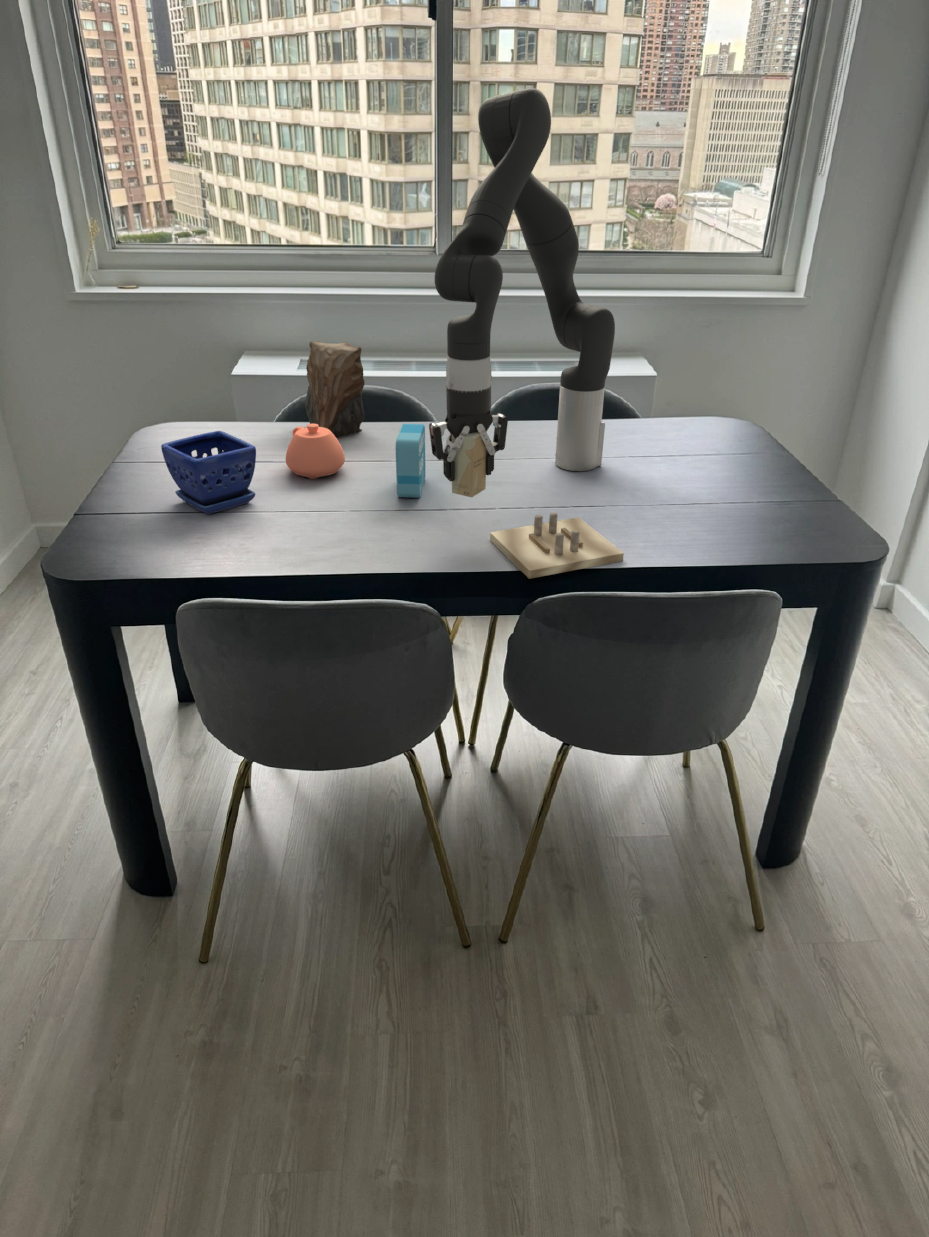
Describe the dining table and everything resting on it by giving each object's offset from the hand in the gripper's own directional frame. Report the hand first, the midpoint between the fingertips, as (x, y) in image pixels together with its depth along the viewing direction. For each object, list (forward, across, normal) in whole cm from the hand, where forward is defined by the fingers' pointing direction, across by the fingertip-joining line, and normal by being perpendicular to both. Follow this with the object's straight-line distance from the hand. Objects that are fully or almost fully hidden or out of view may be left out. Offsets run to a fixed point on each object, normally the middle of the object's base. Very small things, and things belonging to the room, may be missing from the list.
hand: (468, 476), depth 155 cm
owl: (+11, +8, -64) cm, 66 cm away
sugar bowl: (+11, +18, -41) cm, 46 cm away
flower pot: (+11, +40, -31) cm, 52 cm away
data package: (+11, +2, -24) cm, 27 cm away
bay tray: (+11, -11, +12) cm, 20 cm away
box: (+3, 0, 0) cm, 3 cm away
